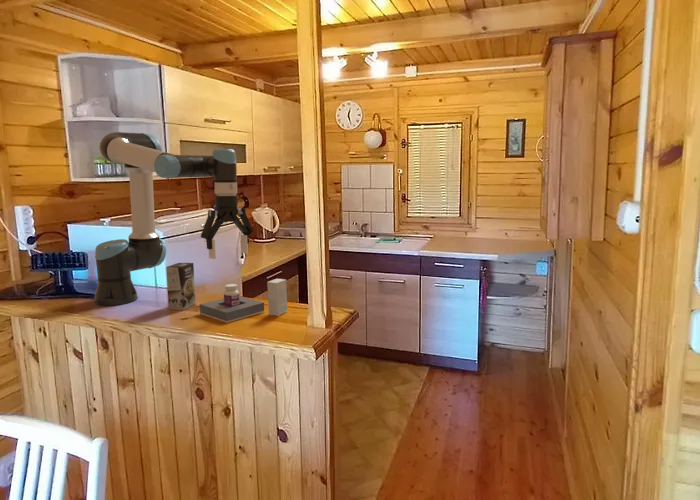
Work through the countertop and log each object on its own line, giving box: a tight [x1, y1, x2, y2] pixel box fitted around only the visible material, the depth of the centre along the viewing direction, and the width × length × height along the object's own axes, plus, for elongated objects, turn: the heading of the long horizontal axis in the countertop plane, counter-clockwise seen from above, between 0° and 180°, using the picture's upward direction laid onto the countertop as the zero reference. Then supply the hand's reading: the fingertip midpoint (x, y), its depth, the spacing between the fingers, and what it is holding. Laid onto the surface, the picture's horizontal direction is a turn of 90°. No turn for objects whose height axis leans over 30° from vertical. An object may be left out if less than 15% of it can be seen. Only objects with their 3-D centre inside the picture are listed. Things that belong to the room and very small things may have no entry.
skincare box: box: [267, 278, 288, 317], centre depth 174 cm, size 6×4×12 cm
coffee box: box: [165, 262, 197, 311], centre depth 183 cm, size 9×6×16 cm
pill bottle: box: [223, 283, 240, 307], centre depth 175 cm, size 5×5×10 cm
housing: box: [199, 295, 265, 323], centre depth 176 cm, size 16×16×4 cm
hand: (229, 255), depth 173 cm, fingers open, 13 cm apart
